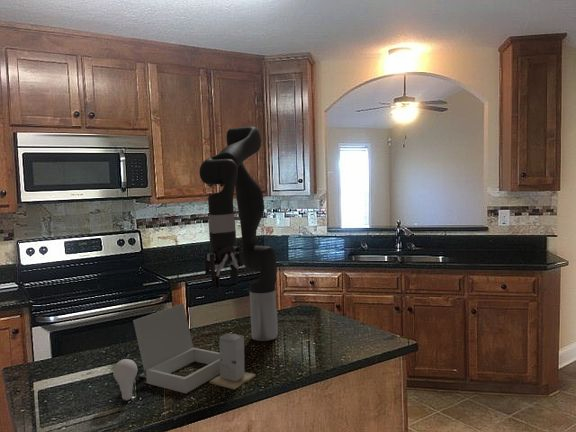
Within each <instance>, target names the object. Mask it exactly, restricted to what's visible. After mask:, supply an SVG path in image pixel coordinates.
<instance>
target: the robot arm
mask: <svg viewBox="0 0 576 432" xmlns="http://www.w3.org/2000/svg"><path fill="white" fill-rule="evenodd" d="M225 138H226V146H225V147H224V148H222V150H220V152H219V153H218V154H215V155H213V156H210V157H208V158H206V159H205V160H203V162H202V163H201V165H200V166H199V178H200V180H201V181H202V182H203V183H204V184H206V185H208V186H209V185H210V186H212V185H216V186H217V185H223V188H222V190H221V191H219V192H214V193H211V194H210V195H208V198H207V200H208V201H207V205H208V234H209V237H208V238H209V246H210V247H211V248H212V252H211V253H205V254H204V268H205V269H204V270H205V272H204V273H205V275H206V276H210V278H211V287H212V289H213V290H220V289H221V280H220V279H221V278H220V274H221V271H222V270H223V269H224V267H225V266H228V267H229V269H230V270H229V272H230V273H229V274H230V282H231V283H238V282H239V269H240V267H242V266H243V265H244V266H245V269H246V270H248V271H250V272H258V273H259V272H260V276H259V279H257V280H254V281H251V282H250V283H249V288H248V289H249V302H250V303H249V306H250V307H249V308H250V325H251V326H250V329H251V339H252V340H254V341H257V342H258V341H259V342H268V341H271V340H275V339H277V338H278V335H279V329H278V328H279V323H278V322H279V321H278V320H279V318H278V309H277V301H276V298H277V296H276V283H277V254H276V250H275V249H274V248H273V247H272V246H269V245H268V246H266V245H258V242H257V230H258V227H259V224H260V222H261V221H262V218H263V217H264V216H263V215H264V212H265V202H264V195H263V190H262V188H261V187H260V185H259V184H258V182H257V181H256V180H255V178H253V176H252V175H251V173H249V172H248V170H247V168H246V166H245V164H244V162H245V161H246V160H247V159H248V158H250V157H251V156H253V155H254V154H256V153H258V152H259V151H260V149H261V145H262V138H261V133H260V130H259V129H258V128H257V127H255V126H241V127H232V128H229V129H228V130H227V132H226V137H225ZM234 195H235V196H236V197H235V198H236V203H237V210H238V217H239V223H240V230H241V231H240V232H241V246H237V231H236V218H235V214H234V212H235V211H234Z"/></svg>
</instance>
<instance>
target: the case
mask: <svg viewBox="0 0 576 432" xmlns="http://www.w3.org/2000/svg"><path fill="white" fill-rule="evenodd" d="M194 362H195V363H201V364H206V365H205V366H203V367H201V368H200V369H197V370H196V371H194V372H192V373H190V374H188V375H186V376H181V375H177V374H172V373H174V372H177V371H178V370H180V369H182V368H184V367H186V366H188V365H190V364H192V363H194ZM219 375H220V351H219V352H218V351H212V350H207V349H202V348H198V347H193V348H192V349H189V350H187V351H185V352H183V353H181V354H179V355H177V356H174V357H172V358H170V359H168V360H166V361H164V362H161V363H159V364H157V365H155V366H153V367H151V368H149V369H146V378H145V379H146V384H149V385H152V386H156V387H160V388H163V389H168V390H171V391H175V392H178V393H183V394H188V393H189V392H191V391H193V390H194V389H196V388H198V387H200V386H202V385H203V384H205V383H207V382H209V381H211V380H212V379H214V378H216V377H218V376H219Z"/></svg>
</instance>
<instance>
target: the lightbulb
mask: <svg viewBox="0 0 576 432" xmlns="http://www.w3.org/2000/svg"><path fill="white" fill-rule="evenodd" d="M112 374H113V378H114V379H115V381H116V382H117V383H118V386H119V389H120V393H121V398H122V400H124V401H129V400H130V399H132V397H133V389H134V381H135V380H136V378H137V374H138V365H137V364H136V362H135V361H134V360H133V359H129V358H124V359H120V360H119V361H118V362H117V363H116V364H115V365H114V367H113V371H112Z"/></svg>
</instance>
